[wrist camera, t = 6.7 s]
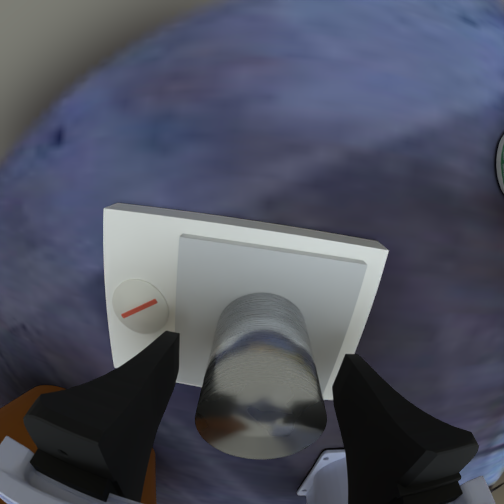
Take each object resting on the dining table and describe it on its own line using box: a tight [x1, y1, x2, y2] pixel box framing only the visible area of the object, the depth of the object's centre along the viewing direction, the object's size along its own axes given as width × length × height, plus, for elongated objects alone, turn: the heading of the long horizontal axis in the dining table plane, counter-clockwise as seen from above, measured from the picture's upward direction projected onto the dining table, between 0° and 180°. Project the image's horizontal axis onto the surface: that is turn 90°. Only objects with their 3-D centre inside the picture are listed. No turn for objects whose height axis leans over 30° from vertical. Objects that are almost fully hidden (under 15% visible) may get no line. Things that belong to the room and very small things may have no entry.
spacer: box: [195, 292, 327, 459], centre depth 12 cm, size 4×4×6 cm
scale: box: [103, 203, 389, 400], centre depth 15 cm, size 10×14×2 cm
